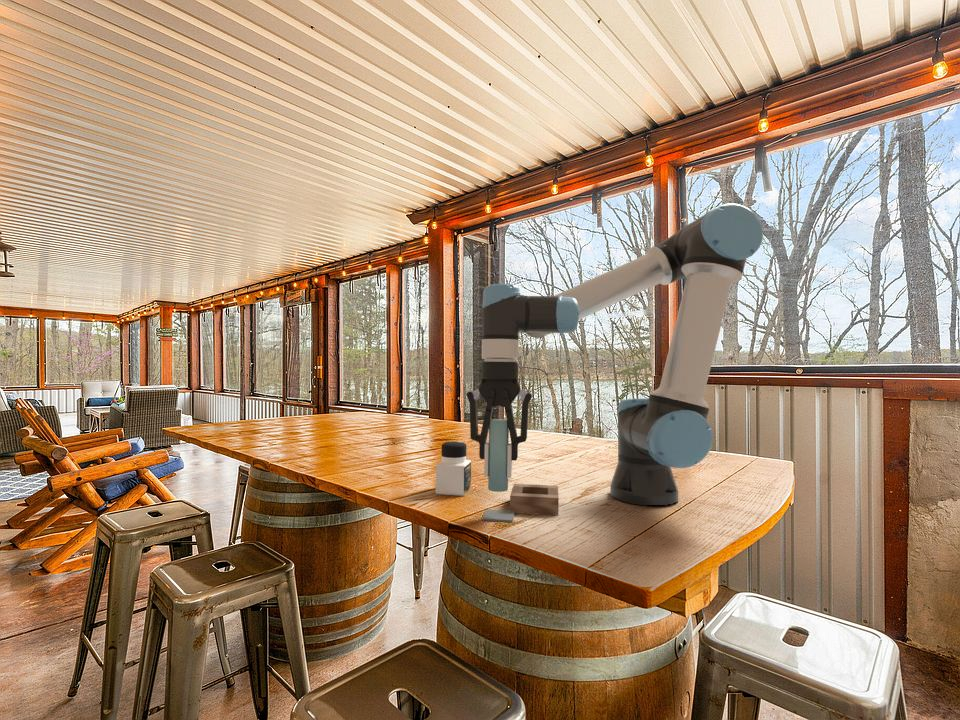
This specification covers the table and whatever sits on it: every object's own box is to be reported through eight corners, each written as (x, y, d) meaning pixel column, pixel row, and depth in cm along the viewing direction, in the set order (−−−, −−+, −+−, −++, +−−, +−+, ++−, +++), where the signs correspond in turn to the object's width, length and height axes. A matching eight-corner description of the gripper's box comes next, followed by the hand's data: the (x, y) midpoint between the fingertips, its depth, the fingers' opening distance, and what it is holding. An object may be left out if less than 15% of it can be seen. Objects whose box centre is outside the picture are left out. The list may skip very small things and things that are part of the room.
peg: (508, 487, 97) (509, 419, 97) (506, 492, 93) (507, 421, 93) (489, 486, 97) (490, 418, 98) (486, 491, 93) (488, 421, 94)
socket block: (557, 501, 106) (557, 485, 106) (558, 515, 96) (558, 498, 96) (513, 498, 108) (513, 483, 108) (510, 512, 98) (510, 495, 98)
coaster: (514, 512, 98) (514, 510, 98) (512, 522, 92) (512, 520, 92) (486, 511, 99) (486, 509, 99) (482, 520, 93) (482, 518, 93)
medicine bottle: (464, 496, 110) (464, 445, 110) (435, 494, 111) (435, 443, 111) (471, 488, 117) (471, 440, 117) (443, 486, 118) (443, 439, 118)
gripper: (542, 361, 98) (540, 473, 98) (462, 360, 100) (460, 469, 100) (541, 361, 90) (539, 482, 90) (455, 360, 93) (453, 477, 93)
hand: (498, 475), depth 95 cm, fingers closed on peg, 4 cm apart
